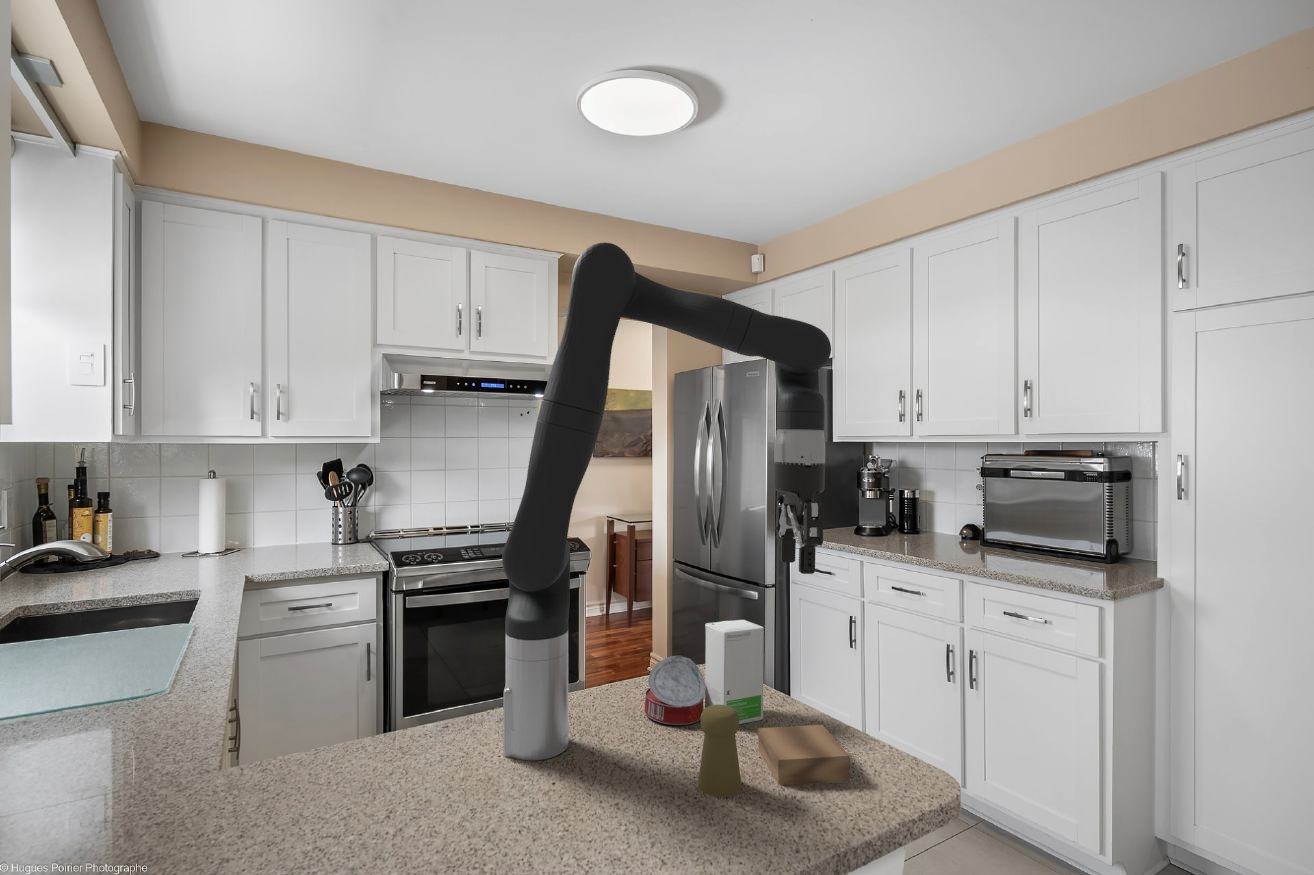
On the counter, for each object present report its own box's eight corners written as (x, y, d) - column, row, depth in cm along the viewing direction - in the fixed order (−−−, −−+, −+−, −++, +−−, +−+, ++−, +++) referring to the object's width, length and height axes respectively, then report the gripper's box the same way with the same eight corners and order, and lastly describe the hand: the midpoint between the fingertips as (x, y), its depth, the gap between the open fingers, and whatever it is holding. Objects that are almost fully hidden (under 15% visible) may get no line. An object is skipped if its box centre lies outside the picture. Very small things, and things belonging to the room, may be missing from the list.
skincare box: (723, 729, 108) (723, 633, 108) (702, 714, 114) (702, 623, 114) (765, 719, 112) (765, 626, 112) (743, 705, 118) (743, 617, 118)
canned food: (698, 735, 115) (728, 689, 114) (670, 750, 107) (702, 700, 105) (651, 689, 121) (679, 645, 119) (621, 700, 112) (651, 652, 111)
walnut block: (778, 789, 90) (778, 760, 90) (758, 755, 100) (758, 728, 100) (849, 785, 91) (849, 755, 91) (822, 751, 101) (822, 724, 101)
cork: (740, 804, 86) (740, 719, 86) (694, 799, 87) (694, 715, 87) (744, 781, 92) (744, 701, 92) (700, 776, 93) (700, 697, 93)
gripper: (761, 458, 107) (759, 559, 107) (790, 461, 93) (788, 577, 93) (806, 459, 108) (804, 559, 108) (842, 462, 94) (839, 577, 94)
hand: (796, 567), depth 101 cm, fingers open, 8 cm apart
